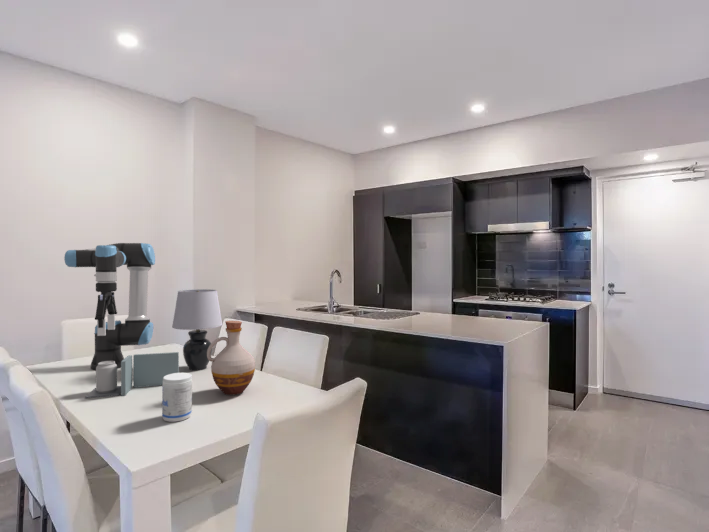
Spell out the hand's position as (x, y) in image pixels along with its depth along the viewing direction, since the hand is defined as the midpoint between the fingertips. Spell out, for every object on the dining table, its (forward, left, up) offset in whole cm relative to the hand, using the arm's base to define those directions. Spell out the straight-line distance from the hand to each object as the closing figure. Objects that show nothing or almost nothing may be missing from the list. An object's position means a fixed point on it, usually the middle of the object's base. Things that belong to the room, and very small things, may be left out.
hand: (106, 332), depth 169 cm
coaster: (+1, 0, -25) cm, 25 cm away
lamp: (-29, +33, -25) cm, 51 cm away
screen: (+2, +17, -25) cm, 30 cm away
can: (+1, 0, -24) cm, 24 cm away
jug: (+15, +50, -25) cm, 58 cm away
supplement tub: (+38, +32, -25) cm, 56 cm away
